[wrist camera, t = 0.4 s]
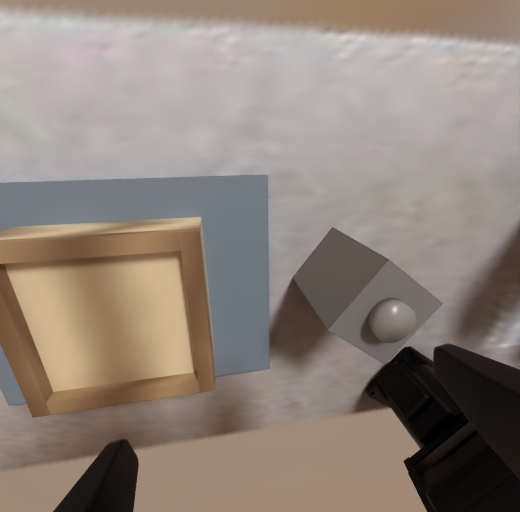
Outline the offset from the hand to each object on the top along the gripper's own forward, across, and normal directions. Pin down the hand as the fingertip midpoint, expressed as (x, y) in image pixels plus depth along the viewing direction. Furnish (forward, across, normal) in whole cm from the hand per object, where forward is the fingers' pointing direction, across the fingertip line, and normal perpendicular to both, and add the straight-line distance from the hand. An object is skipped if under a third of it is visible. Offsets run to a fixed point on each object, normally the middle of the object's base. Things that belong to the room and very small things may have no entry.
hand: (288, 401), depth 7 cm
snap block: (+13, -7, +3) cm, 15 cm away
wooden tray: (+12, +9, +1) cm, 15 cm away
